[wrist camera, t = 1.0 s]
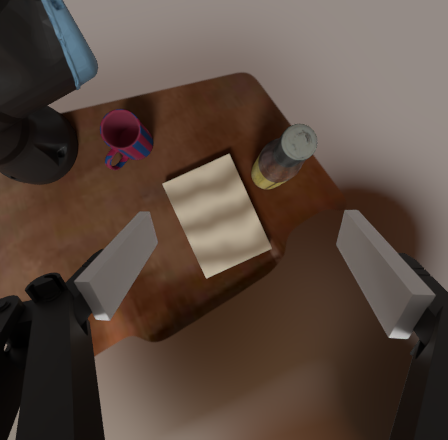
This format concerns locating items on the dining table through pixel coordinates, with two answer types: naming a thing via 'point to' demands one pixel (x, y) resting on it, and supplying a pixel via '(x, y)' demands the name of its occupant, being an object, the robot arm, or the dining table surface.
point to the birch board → (217, 216)
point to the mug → (125, 137)
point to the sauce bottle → (284, 156)
